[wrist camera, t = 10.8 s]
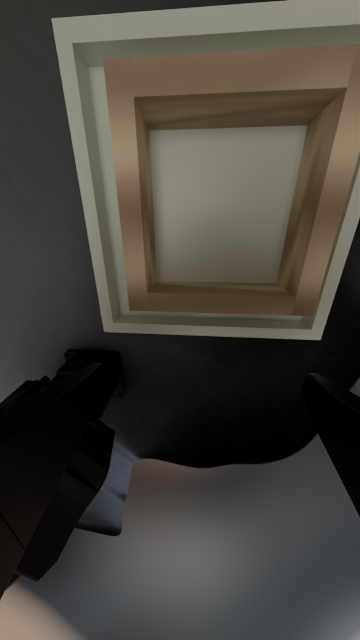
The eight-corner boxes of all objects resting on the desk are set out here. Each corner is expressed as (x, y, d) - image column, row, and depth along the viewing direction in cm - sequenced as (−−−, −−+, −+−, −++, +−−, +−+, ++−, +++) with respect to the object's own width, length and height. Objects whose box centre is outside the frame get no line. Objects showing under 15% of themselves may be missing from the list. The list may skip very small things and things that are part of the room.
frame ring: (289, 299, 19) (312, 316, 15) (141, 296, 20) (129, 310, 16) (337, 94, 13) (391, 41, 10) (127, 103, 14) (102, 59, 10)
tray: (306, 327, 20) (320, 340, 18) (113, 321, 22) (104, 331, 20) (389, 34, 12) (432, -11, 10) (75, 53, 14) (51, 18, 11)
